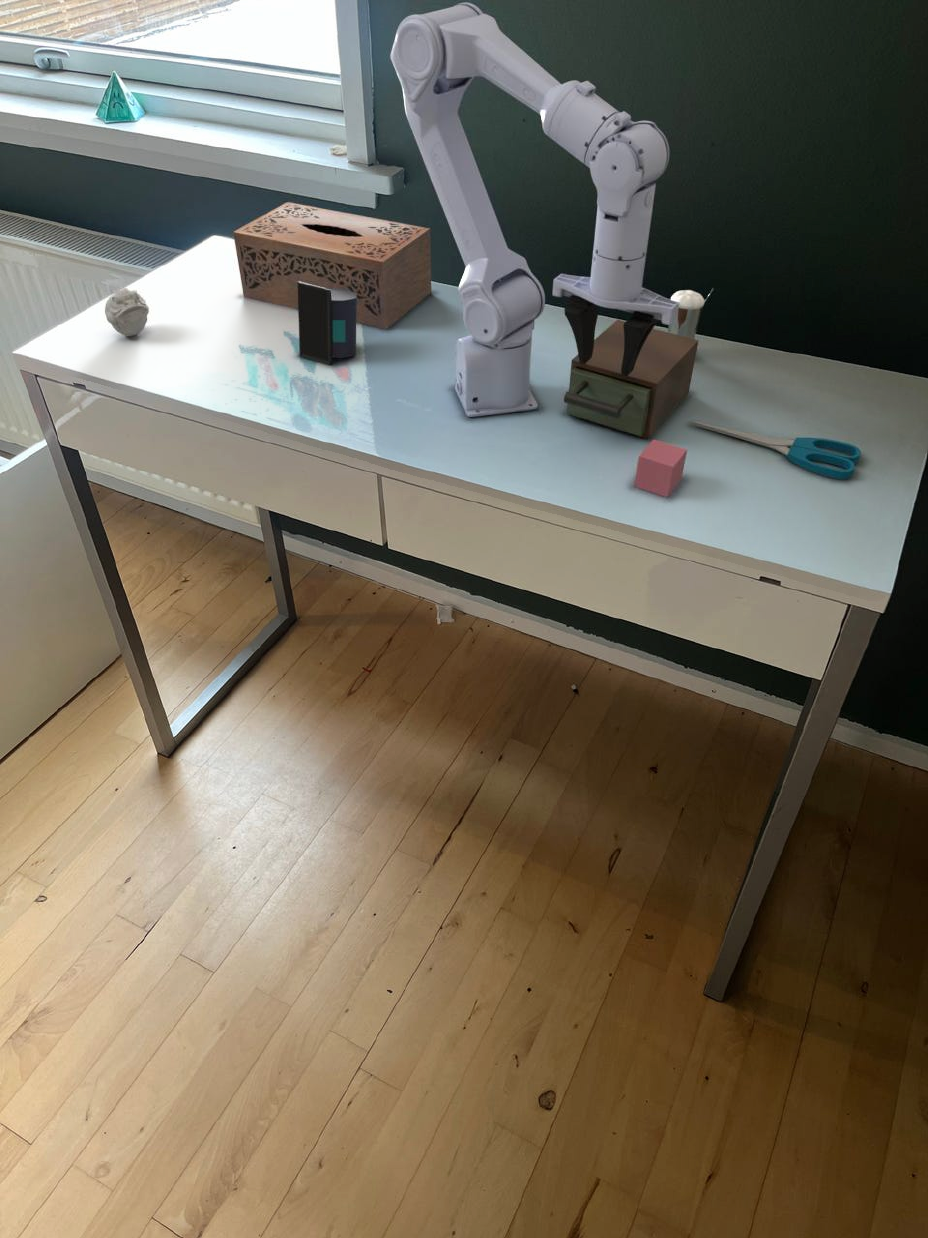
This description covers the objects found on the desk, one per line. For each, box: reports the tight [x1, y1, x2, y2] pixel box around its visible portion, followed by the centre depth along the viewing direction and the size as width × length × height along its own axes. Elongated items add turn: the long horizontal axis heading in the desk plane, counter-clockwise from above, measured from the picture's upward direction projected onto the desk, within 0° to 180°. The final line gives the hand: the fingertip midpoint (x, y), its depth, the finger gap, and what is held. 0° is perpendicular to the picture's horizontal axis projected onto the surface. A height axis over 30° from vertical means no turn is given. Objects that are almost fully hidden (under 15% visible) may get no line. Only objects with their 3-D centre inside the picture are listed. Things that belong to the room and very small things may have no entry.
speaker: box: [297, 281, 357, 366], centre depth 127 cm, size 8×6×10 cm
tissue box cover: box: [232, 201, 432, 330], centre depth 142 cm, size 26×14×10 cm, turn 64°
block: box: [633, 439, 688, 499], centre depth 106 cm, size 4×4×4 cm
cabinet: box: [566, 319, 699, 440], centre depth 118 cm, size 13×11×8 cm
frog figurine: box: [104, 287, 150, 337], centre depth 133 cm, size 6×7×7 cm
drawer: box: [563, 368, 651, 437], centre depth 116 cm, size 17×10×6 cm, turn 148°
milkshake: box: [667, 288, 714, 339], centre depth 127 cm, size 4×5×10 cm
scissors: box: [693, 421, 862, 480], centre depth 113 cm, size 7×1×20 cm
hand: (606, 366), depth 109 cm, fingers open, 5 cm apart
